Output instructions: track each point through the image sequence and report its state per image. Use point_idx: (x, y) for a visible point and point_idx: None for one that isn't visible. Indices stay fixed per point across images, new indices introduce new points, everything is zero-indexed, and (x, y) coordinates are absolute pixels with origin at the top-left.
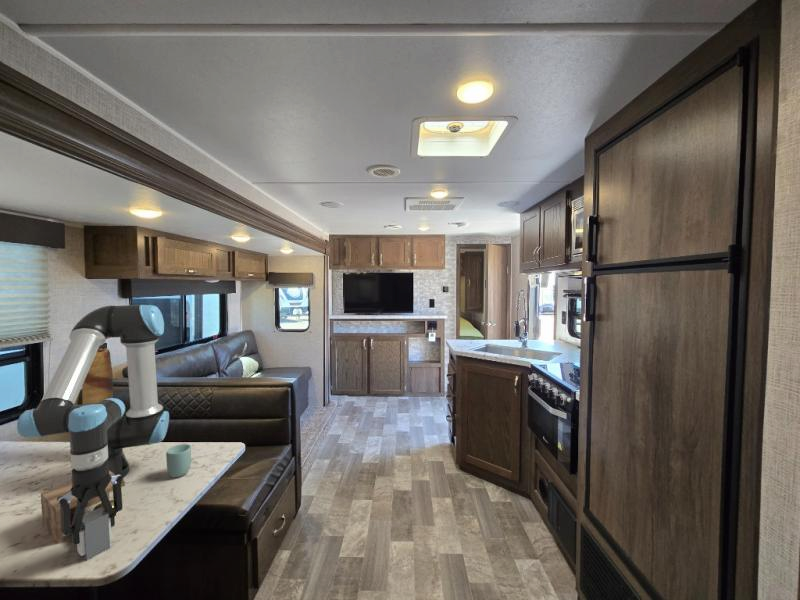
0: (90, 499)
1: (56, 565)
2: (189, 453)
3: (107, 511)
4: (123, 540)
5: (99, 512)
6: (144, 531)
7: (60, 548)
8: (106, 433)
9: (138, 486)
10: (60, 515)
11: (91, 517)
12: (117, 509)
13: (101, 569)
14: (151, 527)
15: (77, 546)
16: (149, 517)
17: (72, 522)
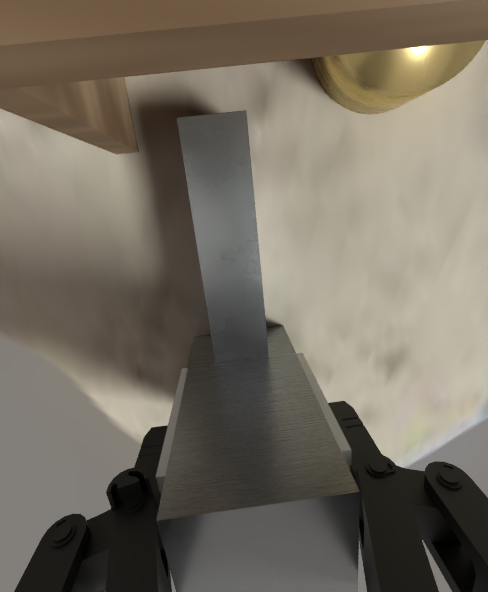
0: (361, 47)
1: (110, 351)
2: None
3: (365, 571)
4: (339, 388)
5: (317, 563)
6: (413, 392)
7: (126, 220)
8: None
9: None
10: (31, 101)
11: (249, 590)
12: (424, 541)
13: None
14: (442, 387)
15: (177, 390)
16: (482, 302)
17: (109, 570)
